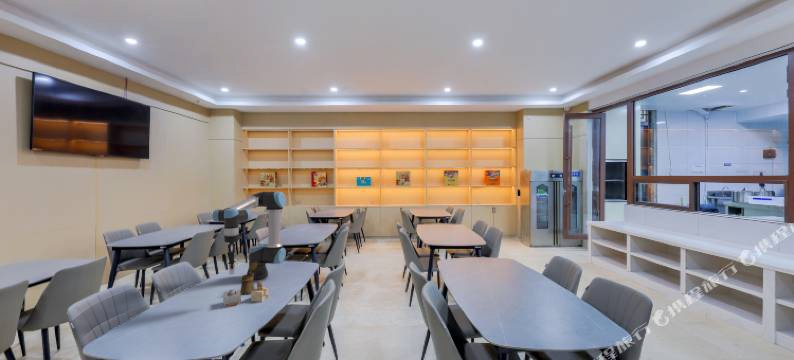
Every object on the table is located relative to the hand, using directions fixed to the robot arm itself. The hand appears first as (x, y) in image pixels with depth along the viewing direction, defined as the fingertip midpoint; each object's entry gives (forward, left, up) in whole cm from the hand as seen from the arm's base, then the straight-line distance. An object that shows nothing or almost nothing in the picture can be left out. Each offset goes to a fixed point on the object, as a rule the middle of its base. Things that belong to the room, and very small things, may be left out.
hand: (231, 273), depth 182 cm
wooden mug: (-20, -1, -18) cm, 27 cm away
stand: (-8, +13, -18) cm, 23 cm away
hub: (0, 0, -18) cm, 18 cm away
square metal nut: (0, 0, -16) cm, 16 cm away
